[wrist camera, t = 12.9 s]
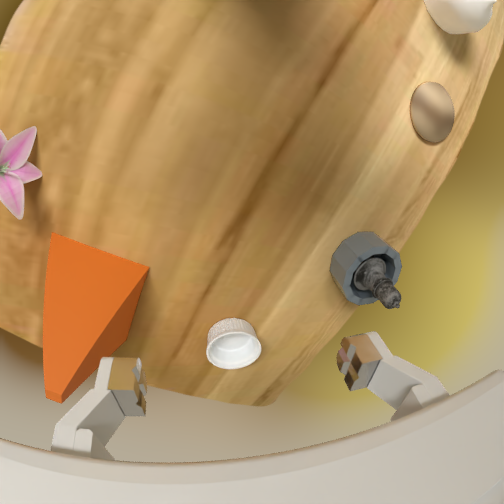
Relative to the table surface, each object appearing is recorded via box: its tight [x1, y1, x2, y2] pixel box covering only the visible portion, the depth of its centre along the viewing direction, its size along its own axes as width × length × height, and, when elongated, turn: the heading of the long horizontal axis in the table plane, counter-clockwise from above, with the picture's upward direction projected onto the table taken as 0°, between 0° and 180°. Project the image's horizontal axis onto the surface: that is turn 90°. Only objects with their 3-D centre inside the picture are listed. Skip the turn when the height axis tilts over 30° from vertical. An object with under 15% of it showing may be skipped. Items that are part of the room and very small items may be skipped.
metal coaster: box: [410, 82, 454, 142], centre depth 36 cm, size 10×10×1 cm
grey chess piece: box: [352, 255, 401, 309], centre depth 41 cm, size 6×6×12 cm
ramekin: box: [206, 318, 261, 369], centre depth 48 cm, size 9×9×4 cm
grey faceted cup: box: [330, 232, 402, 305], centre depth 45 cm, size 10×10×5 cm
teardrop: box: [424, 0, 497, 34], centre depth 22 cm, size 11×11×12 cm
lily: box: [0, 126, 42, 219], centre depth 26 cm, size 12×12×10 cm
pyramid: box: [43, 232, 149, 403], centre depth 32 cm, size 16×16×20 cm
